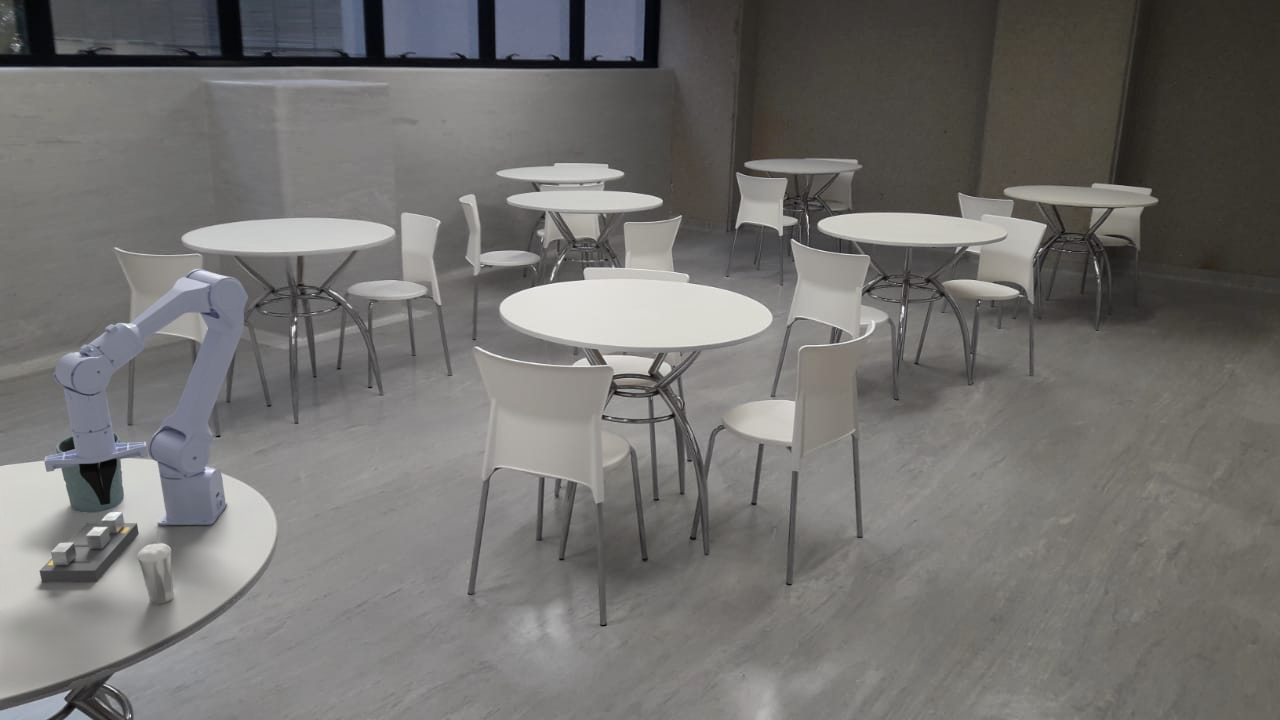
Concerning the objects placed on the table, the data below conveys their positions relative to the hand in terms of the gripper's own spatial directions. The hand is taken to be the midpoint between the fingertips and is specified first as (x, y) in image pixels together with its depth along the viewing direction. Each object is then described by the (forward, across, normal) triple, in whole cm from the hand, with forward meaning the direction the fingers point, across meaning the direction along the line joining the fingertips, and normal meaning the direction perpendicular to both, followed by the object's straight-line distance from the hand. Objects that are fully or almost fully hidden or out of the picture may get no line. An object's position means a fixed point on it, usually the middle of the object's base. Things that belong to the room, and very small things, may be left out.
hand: (105, 501), depth 163 cm
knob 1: (+6, +6, +6) cm, 11 cm away
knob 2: (+6, +2, +3) cm, 7 cm away
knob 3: (+6, 0, -2) cm, 7 cm away
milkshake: (+9, -7, +20) cm, 22 cm away
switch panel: (+8, +3, +2) cm, 9 cm away
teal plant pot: (+9, +3, -18) cm, 21 cm away
